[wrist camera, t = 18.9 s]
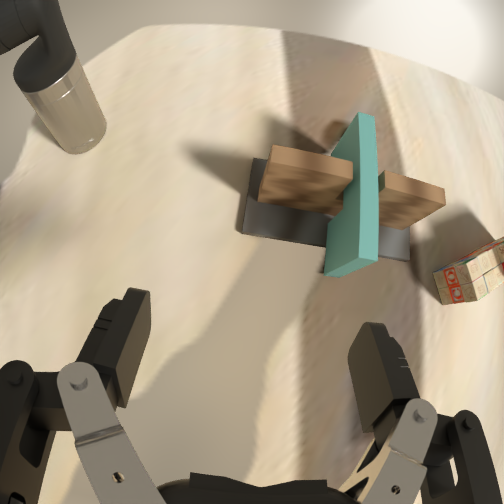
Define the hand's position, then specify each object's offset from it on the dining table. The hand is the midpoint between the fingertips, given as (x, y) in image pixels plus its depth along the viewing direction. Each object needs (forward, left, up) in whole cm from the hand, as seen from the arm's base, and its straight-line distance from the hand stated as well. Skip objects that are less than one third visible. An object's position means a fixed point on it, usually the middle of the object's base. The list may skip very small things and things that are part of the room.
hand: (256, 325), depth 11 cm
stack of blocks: (+10, +45, -33) cm, 57 cm away
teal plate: (-9, +21, -31) cm, 39 cm away
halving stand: (-10, +21, -33) cm, 40 cm away
